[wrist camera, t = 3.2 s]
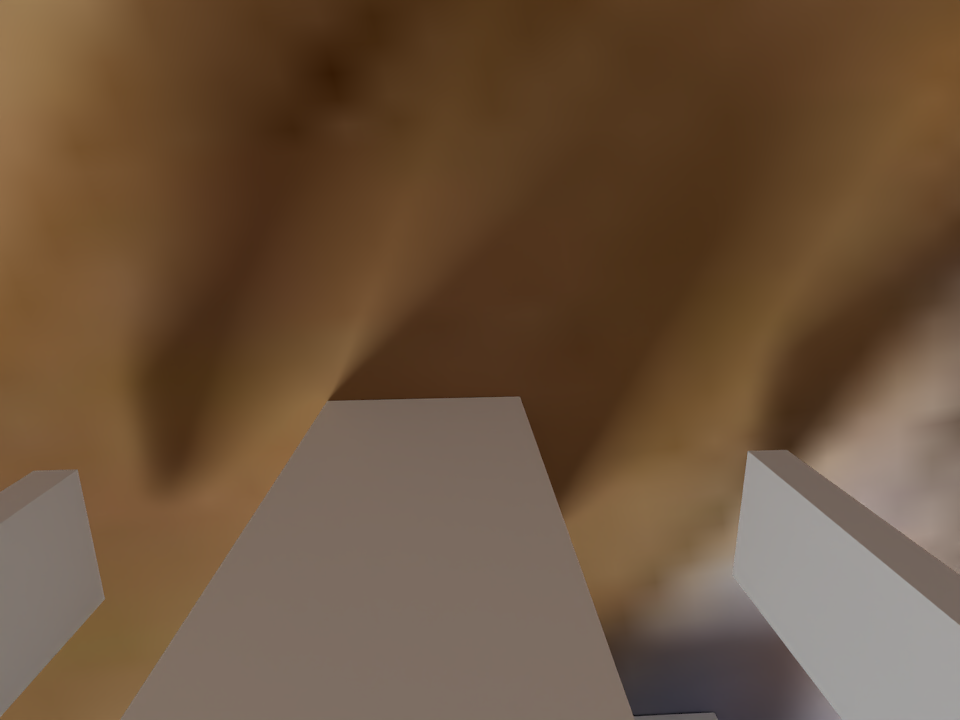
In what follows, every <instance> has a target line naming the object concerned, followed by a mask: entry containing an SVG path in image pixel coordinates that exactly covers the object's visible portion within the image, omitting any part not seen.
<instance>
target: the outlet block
mask: <svg viewBox="0 0 960 720" xmlns="http://www.w3.org/2000/svg"><path fill="white" fill-rule="evenodd" d="M634 719H635V720H718V719H717V717H716V715H715V713H693V714H672V715H652V716H634Z"/></svg>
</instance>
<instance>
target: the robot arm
mask: <svg viewBox="0 0 960 720" xmlns="http://www.w3.org/2000/svg"><path fill="white" fill-rule="evenodd" d="M732 576H733V577H734V578H735V580H736V581H737V582H738V584H739V585H740V586H741V587H742V589H743V590H744V591H745V593H746V594H747V595H748V597H749V598H750V599H751V601H752V602H753V603H754V605H755V606H756V607H757V608H758V610H759V611H760V612H761V614H762V615H763V616H764V618H765V619H766V620H767V622H768V623H769V624H770V626H771V627H772V628H773V630H774V631H775V632H776V633H777V635H778V636H779V637H780V639H781V640H782V641H783V643H784V644H785V645H786V647H787V648H788V649H789V651H790V652H791V653H792V654H793V656H794V657H795V658H796V660H797V661H798V662H799V664H800V665H801V666H802V668H803V669H804V670H805V672H806V673H807V674H808V675H809V677H810V678H811V679H812V681H813V682H814V683H815V685H816V686H817V687H818V689H819V690H820V691H821V693H822V694H823V695H824V696H825V698H826V699H827V700H828V702H829V703H830V704H831V706H832V707H833V708H834V710H835V711H836V712H837V714H838V715H839V716H840V718H841V719H842V720H960V575H959V574H958V573H956V572H955V571H953V570H952V569H951V568H949V567H948V566H946V565H945V564H944V563H942V562H941V561H940V560H938V559H937V558H935V557H934V556H933V555H931V554H930V553H929V552H927V551H926V550H924V549H923V548H922V547H920V546H919V545H917V544H916V543H915V542H913V541H912V540H911V539H909V538H908V537H906V536H905V535H904V534H902V533H901V532H900V531H898V530H897V529H895V528H894V527H893V526H891V525H890V524H888V523H887V522H886V521H884V520H883V519H882V518H880V517H879V516H877V515H876V514H875V513H873V512H872V511H871V510H869V509H868V508H866V507H865V506H864V505H862V504H861V503H860V502H858V501H857V500H855V499H854V498H853V497H851V496H850V495H848V494H847V493H846V492H844V491H843V490H842V489H840V488H839V487H837V486H836V485H835V484H833V483H832V482H831V481H829V480H828V479H826V478H825V477H824V476H822V475H821V474H819V473H818V472H817V471H815V470H814V469H813V468H811V467H810V466H808V465H807V464H806V463H804V462H803V461H802V460H800V459H799V458H797V457H796V456H795V455H793V454H792V453H790V452H789V451H788V450H764V451H748V454H747V462H746V470H745V478H744V486H743V494H742V502H741V510H740V518H739V526H738V535H737V543H736V551H735V559H734V567H733V575H732ZM104 599H105V597H104V593H103V588H102V583H101V578H100V574H99V569H98V564H97V560H96V555H95V550H94V545H93V541H92V536H91V531H90V526H89V522H88V517H87V512H86V507H85V503H84V498H83V493H82V488H81V484H80V479H79V474H78V470H46V471H33V472H31V473H30V474H28V475H27V476H25V477H23V478H22V479H20V480H19V481H17V482H16V483H14V484H12V485H11V486H9V487H8V488H6V489H4V490H3V491H1V492H0V717H1V716H2V714H3V713H4V712H5V711H6V710H7V709H8V708H9V707H10V705H11V704H12V703H13V702H14V701H15V700H16V699H17V698H18V696H19V695H20V694H21V693H22V692H23V691H24V690H25V689H26V687H27V686H28V685H29V684H30V683H31V682H32V681H33V680H34V678H35V677H36V676H37V675H38V674H39V673H40V672H41V670H42V669H43V668H44V667H45V666H46V665H47V664H48V663H49V661H50V660H51V659H52V658H53V657H54V656H55V655H56V654H57V652H58V651H59V650H60V649H61V648H62V647H63V646H64V645H65V643H66V642H67V641H68V640H69V639H70V638H71V637H72V636H73V634H74V633H75V632H76V631H77V630H78V629H79V628H80V627H81V625H82V624H83V623H84V622H85V621H86V620H87V619H88V618H89V616H90V615H91V614H92V613H93V612H94V611H95V610H96V609H97V607H98V606H99V605H100V604H101V603H102V602H103V601H104Z"/></svg>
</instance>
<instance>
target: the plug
mask: <svg viewBox="0 0 960 720" xmlns="http://www.w3.org/2000/svg"><path fill="white" fill-rule="evenodd" d="M120 720H635V719H634V716H633V714H632V711H631V708H630V705H629V702H628V699H627V697H626V694H625V691H624V688H623V685H622V683H621V680H620V677H619V674H618V671H617V669H616V666H615V663H614V660H613V657H612V654H611V652H610V649H609V646H608V643H607V640H606V638H605V635H604V632H603V629H602V626H601V623H600V621H599V618H598V615H597V612H596V609H595V607H594V604H593V601H592V598H591V595H590V593H589V590H588V587H587V584H586V581H585V578H584V576H583V573H582V570H581V567H580V564H579V562H578V559H577V556H576V553H575V550H574V547H573V545H572V542H571V539H570V536H569V533H568V531H567V528H566V525H565V522H564V519H563V516H562V514H561V511H560V508H559V505H558V502H557V500H556V497H555V494H554V491H553V488H552V486H551V483H550V480H549V477H548V474H547V471H546V469H545V466H544V463H543V460H542V457H541V455H540V452H539V449H538V446H537V443H536V440H535V438H534V435H533V432H532V429H531V426H530V424H529V421H528V418H527V415H526V412H525V409H524V407H523V404H522V401H521V398H520V397H477V398H433V399H389V400H345V401H327V402H326V404H325V405H324V407H323V408H322V410H321V412H320V413H319V415H318V416H317V418H316V419H315V421H314V422H313V424H312V425H311V427H310V429H309V430H308V432H307V433H306V435H305V436H304V438H303V439H302V441H301V442H300V444H299V445H298V447H297V449H296V450H295V452H294V453H293V455H292V456H291V458H290V459H289V461H288V462H287V464H286V465H285V467H284V469H283V470H282V472H281V473H280V475H279V476H278V478H277V479H276V481H275V482H274V484H273V485H272V487H271V489H270V490H269V492H268V493H267V495H266V496H265V498H264V499H263V501H262V502H261V504H260V505H259V507H258V509H257V510H256V512H255V513H254V515H253V516H252V518H251V519H250V521H249V522H248V524H247V525H246V527H245V529H244V530H243V532H242V533H241V535H240V536H239V538H238V539H237V541H236V542H235V544H234V545H233V547H232V549H231V550H230V552H229V553H228V555H227V556H226V558H225V559H224V561H223V562H222V564H221V565H220V567H219V569H218V570H217V572H216V573H215V575H214V576H213V578H212V579H211V581H210V582H209V584H208V585H207V587H206V589H205V590H204V592H203V593H202V595H201V596H200V598H199V599H198V601H197V602H196V604H195V606H194V607H193V609H192V610H191V612H190V613H189V615H188V616H187V618H186V619H185V621H184V622H183V624H182V626H181V627H180V629H179V630H178V632H177V633H176V635H175V636H174V638H173V639H172V641H171V642H170V644H169V646H168V647H167V649H166V650H165V652H164V653H163V655H162V656H161V658H160V659H159V661H158V662H157V664H156V666H155V667H154V669H153V670H152V672H151V673H150V675H149V676H148V678H147V679H146V681H145V682H144V684H143V686H142V687H141V689H140V690H139V692H138V693H137V695H136V696H135V698H134V699H133V701H132V702H131V704H130V706H129V707H128V709H127V710H126V712H125V713H124V715H123V716H122V718H121V719H120Z"/></svg>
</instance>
